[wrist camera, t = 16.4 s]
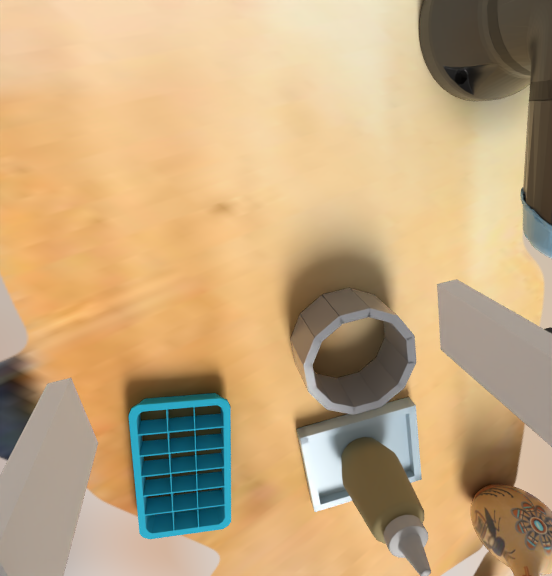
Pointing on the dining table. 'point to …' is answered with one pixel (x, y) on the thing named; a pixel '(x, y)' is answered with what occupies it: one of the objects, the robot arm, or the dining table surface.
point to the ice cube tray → (181, 468)
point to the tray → (343, 430)
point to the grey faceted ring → (372, 378)
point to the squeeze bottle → (386, 500)
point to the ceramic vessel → (514, 528)
